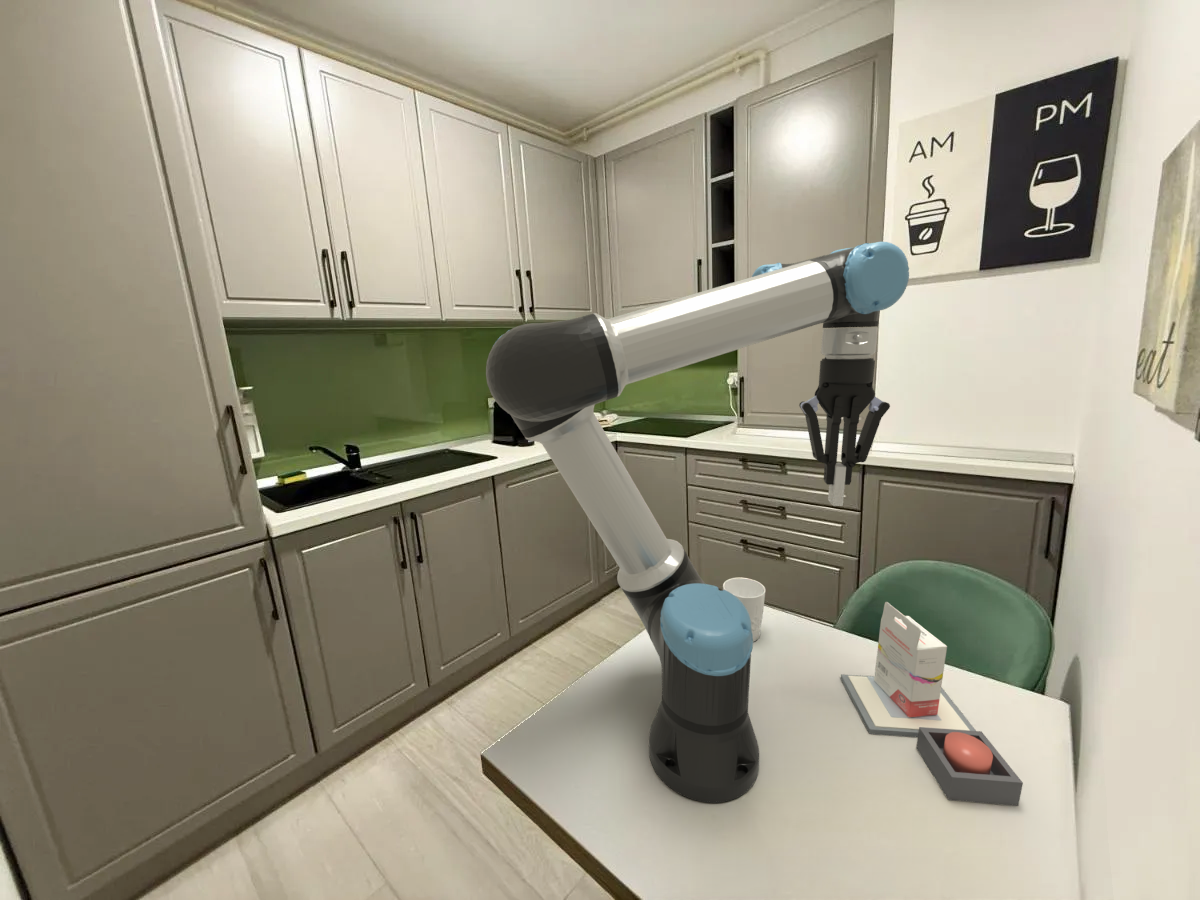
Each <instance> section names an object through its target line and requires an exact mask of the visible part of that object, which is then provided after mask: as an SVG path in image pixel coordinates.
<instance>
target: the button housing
mask: <svg viewBox="0 0 1200 900" xmlns="http://www.w3.org/2000/svg"><path fill="white" fill-rule="evenodd" d="M951 732H960V733H965V734H968V735H971V736H973V737H975V738H977V739H979V740H980V741H982V742H983V743H984V744H985V745H986V746H987V747H988V748H989V749H990V750H991V752H992V754H993V760H992V765H991V770H990V775H986V774H973V773H961V772H956V771H954V769H953V768H952V767H951V765H950V764H949V762H948V761H947V759H946V758H945V756H944V755H943V749H944V743H945V737H946V735H947V734H949V733H951ZM915 749H916V750H917V752H918V753H919V755H920V757H921V758H922V760H923V761H924V763H925V765H926V766H927V768H928V769H929V772H930V773H931V774H932V776H933V778H934V779H935V781H936V783H937V785H939V788H940V790H941V791H942V792H943V794H944V796H945V797H946V799H947V800H948V801H954V802H955V801H957V802H966V803H968V802H969V803H979V804H980V803H982V804H990V805H1001V806H1002V805H1003V806H1015V807H1019V803H1020V799H1021V795H1022V788H1023V786H1024V785H1023V784H1024V781H1022V780H1021V779H1020V777H1019V776H1018V775H1017V773H1016V772H1015V771H1014V769H1012V768H1011V766H1010V765H1009V764H1008V762H1007V761H1006V759H1005V758H1004V757H1003V756H1002V754H1000V753H999V751H998V750H997V749H996V747H995V746H994V745H993V744H992V742H991V741H990V740H989V739H988V737H987V736H986V735H985V733H983V731H981V730H976V731H969V730H954V729H940V728H925V727H919V732H918V737H917V740H916V746H915Z"/></svg>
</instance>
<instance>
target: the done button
mask: <svg viewBox="0 0 1200 900" xmlns="http://www.w3.org/2000/svg"><path fill="white" fill-rule="evenodd" d="M943 755H944V756H945V758H946V759H947V761H948V762H949V764H950V765H951V767H952V768H953V769H954V771H956V772H961V773H973V774H986V775H990V770H991V765H992V760H993V754H992V752H991V750H990V749H989V748H988V747H987V746H986V745H985V744H984V743H983V742H982V741H980V740H979V739H977V738H975V737H973V736H971V735H968V734H965V733H960V732H951V733H949V734H947V735H946V737H945V743H944V749H943Z"/></svg>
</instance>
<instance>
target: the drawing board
mask: <svg viewBox="0 0 1200 900" xmlns="http://www.w3.org/2000/svg"><path fill="white" fill-rule="evenodd" d="M874 677H875V675H861V674H860V675H857V674H856V675H855V674H845V673H844V674H840V680H841V682H842V684H843V686H844V688H845V690H846V692H847V694H848V696H849V698H850V700H851V701H852V704H853V705H854V707H855V709H856V711H857V713H858V715H859V717H860V719H861V720H862V721H861V722H862V723H863V725H864V727H865V729H866V731H867V732H868V734H869V735H879V736H881V735H882V736H895V737H908V738H918V732H919V727H925V728H940V729H954V730H969V731H977V730H976V729H975V727H974V726H973V724H971V722H970V721H969V720H968V718H967V717H966V715H964V713H963V712H962V711H961V710H960V709H959V707H958V706H957V705H956V704H955V702H954V700H953V699H952V698H951V697H950V695H948V694H947V692H946V691H945V689H944V688H943V687H942V686H941V692H940V699H939V706H938V713H937V715H928V716H917V717H908V716H907V715H906V714H905V713H904V712H903V711H902V710H901V708H900V707H899V706H898V705H897V704H896V703H895V702H894V701H893V700H892V699H891V698H890V697H889V696H888V695H887V694H886V693H885V692H884V690H883V689H882V688H881V687H880V686H879V685H878V684H877V683H876V682H875V681H874Z"/></svg>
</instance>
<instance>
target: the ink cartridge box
mask: <svg viewBox="0 0 1200 900" xmlns="http://www.w3.org/2000/svg"><path fill="white" fill-rule="evenodd" d="M882 611H883V612H882V615H881V619H880V625H879V626H880V627H879V635H878V642H877V651H876V652H877V654H876V661H875V669H874V670H875V671H874V676H875V677H874V681H875V682H876V683H877V684H878V685H879V686H880V687H881V688H882V689H883V690H884V692H885V693H886V694H887V695H888V696H889V697H890V698H891V699H892V700H893V701H894V702H895V703H896V704H897V705H898V706H899V707H900V708H901V710H902V711H903V712H904V713H905V714H906V715H907V716H908V717H917V716H928V715H937V713H938V706H939V699H940V692H941V687H942V683H943V677H944V671H945V663H946V657H947V649H948V646H947V645H946V644H945V643H944V642H942V641H941V640H940V639H939V638H937V637H936V636H935V635H933V634H932V633H931V632H930V631H928V630H927V629H925V628H924V627H923V626H922V625H921V624H919V623H918V622H916V620H914V619H913V618H912V617H911V616H910V615H904V614H903V613H902V612H900V611H899V610H898V609H897V608H895V607H894V606H893V605H891V603H889V602H888V601H885V602H884V605H883V610H882Z"/></svg>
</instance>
